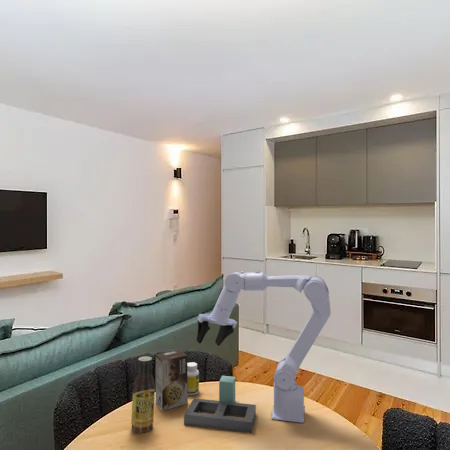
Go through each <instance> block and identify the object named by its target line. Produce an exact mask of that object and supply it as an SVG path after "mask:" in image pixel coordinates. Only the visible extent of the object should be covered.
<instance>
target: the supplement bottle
mask: <svg viewBox="0 0 450 450" xmlns="http://www.w3.org/2000/svg"><path fill="white" fill-rule="evenodd" d="M187 381H188V396H195V395H197V394H198V393H199V391H200V372H199V370H198V363H197V362H194V361H193V362H187Z"/></svg>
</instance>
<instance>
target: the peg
mask: <svg viewBox="0 0 450 450" xmlns="http://www.w3.org/2000/svg"><path fill="white" fill-rule="evenodd" d="M218 383H219V387H218V388H219V393H218V398H219V399H218V401H225V402H234V403H236V376H230V375H221V376H220V379H219V382H218Z"/></svg>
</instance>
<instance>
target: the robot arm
mask: <svg viewBox="0 0 450 450" xmlns="http://www.w3.org/2000/svg"><path fill="white" fill-rule="evenodd" d="M268 287H278V288H293V289H295V290H296V291H297V292H298V293H302V291H303V293H304V295H305V297H306V299H307V300H308V301H309V303H310V305H311V307H312V310H313V311H312V313H311V315H310V316H309V318H308V320H307V321H306V323H305V325H304V326H303V328H302V330H301V332H300V333H299V335H298V337H297V338H296V340H295V342H294V343H293V345H292V347H291V348H290V350H289V351H288V353H287V354H286V355H285V357H284V358H283V359H280V360H279V362H278V363H277V366H276V370H275V372H274V374H273V379H272V380H273V404H272V414H271V420H276V421H283V422H293V423H304V421H305V413H306V406H305V391H304V390H305V388H304V386H301V385H298V382H297V380H296V375H297V374H298V372H299V370H300V366H301V365H302V363H303V361H304V360H305V359H306V357H307V354H308V353H309V351H310V350H311V348H312V347H313V345H314V343H315V342H316V340H317V338H318V336H319V334H320V333H321V331H322V330H323V328H324V326H325V325H326V323H327V321H328V320H329V318H330V316H331V314H332V313H331V304H330V303H331V302H330V295H329V294H330V291H329V288H328V285H327V284H326V282H325V279H323V278H322V277H320V276H319V275H313V276H311V275H306V274H287V275H270V276H268V275H267V273H265V272H263V271H262V272H261V271H260V270H255V272H245V271H243V270H240V272H239V271H234V272H232V273H230V274H228V275H227V276H226V277H225V279H224V286H223V288H222V290H221V292H220V294H219V296H218V298H217V300H216V303H215V304H214V305H215V306H214V307H213V309H212V311H211V312H210V313H199V314H198V316H197V335H196V342H197V343H198V344H201V343H202V342H203V340H204V338H205V336H206V334H207V333H208V331H209V330H211V327H210V326H209V324H216V325H220V327H219V330H218V333H217V336H216V338H215V340H214V341H215V342H214V343H215V344H216V345H217V346H218V347H220V345H221V344H222V343H223V342H224V341H225V340H226V338H228V337H229V336H230V335H231V334H233V333H234V331H235V329H234V328H236V326H237V324H238V322H237V321H236V320H235V319H232V318H230V316H231V314H232V312H233V309H234V307H235V305H236V303H237V301H238V297H239V294H240V293H241V290H242V291H250V292H252V291H262V292H263V291H265V290H266V289H267V288H268Z"/></svg>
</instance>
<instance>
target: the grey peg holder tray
mask: <svg viewBox="0 0 450 450" xmlns="http://www.w3.org/2000/svg"><path fill="white" fill-rule="evenodd" d="M256 414H257V404H251V403H243V402H242V403H241V402H235V403H234V402H225V401H219V400H214V399H207V398H206V399H205V398H195V397H194V398H193V399H192V401H191V402H190V404H189V406H188V407H187V409H186V411H185V412H184V414H183V425H185V426H193V427H199V428H206V429H207V428H208V429H216V430H224V431H231V432H240V433H249V434H252V432H253V429H254V424H255V419H256V416H257V415H256ZM229 415H230V416H229ZM231 415H232V416H231ZM236 416H237V417H236Z"/></svg>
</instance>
